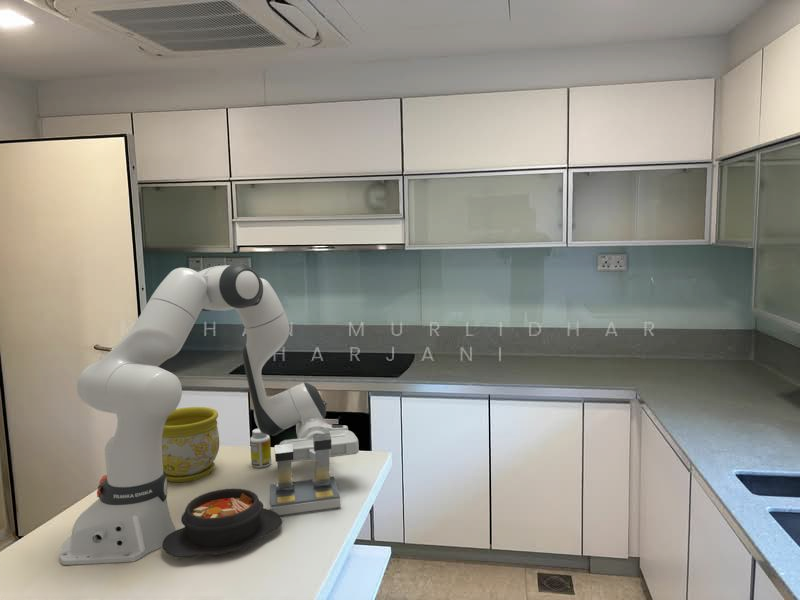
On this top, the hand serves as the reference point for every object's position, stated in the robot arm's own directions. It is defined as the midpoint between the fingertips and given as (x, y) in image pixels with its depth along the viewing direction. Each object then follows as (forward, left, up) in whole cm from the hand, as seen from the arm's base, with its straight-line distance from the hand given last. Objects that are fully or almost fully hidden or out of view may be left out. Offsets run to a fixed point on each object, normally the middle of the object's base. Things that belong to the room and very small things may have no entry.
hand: (321, 458), depth 144 cm
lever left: (-9, +1, -7) cm, 11 cm away
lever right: (0, +1, -7) cm, 7 cm away
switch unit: (-5, +1, -11) cm, 12 cm away
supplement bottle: (-15, +29, -11) cm, 35 cm away
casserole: (-23, -12, -11) cm, 28 cm away
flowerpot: (-35, +29, -11) cm, 47 cm away
